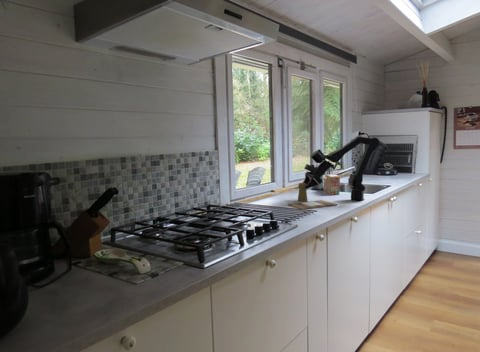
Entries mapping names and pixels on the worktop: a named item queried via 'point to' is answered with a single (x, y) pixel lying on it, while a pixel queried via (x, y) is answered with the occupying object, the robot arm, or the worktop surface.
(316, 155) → the robot arm
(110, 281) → the worktop surface
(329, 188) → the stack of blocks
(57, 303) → the worktop surface
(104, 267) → the worktop surface
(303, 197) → the pepper mill
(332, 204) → the baseplate
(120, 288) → the worktop surface
